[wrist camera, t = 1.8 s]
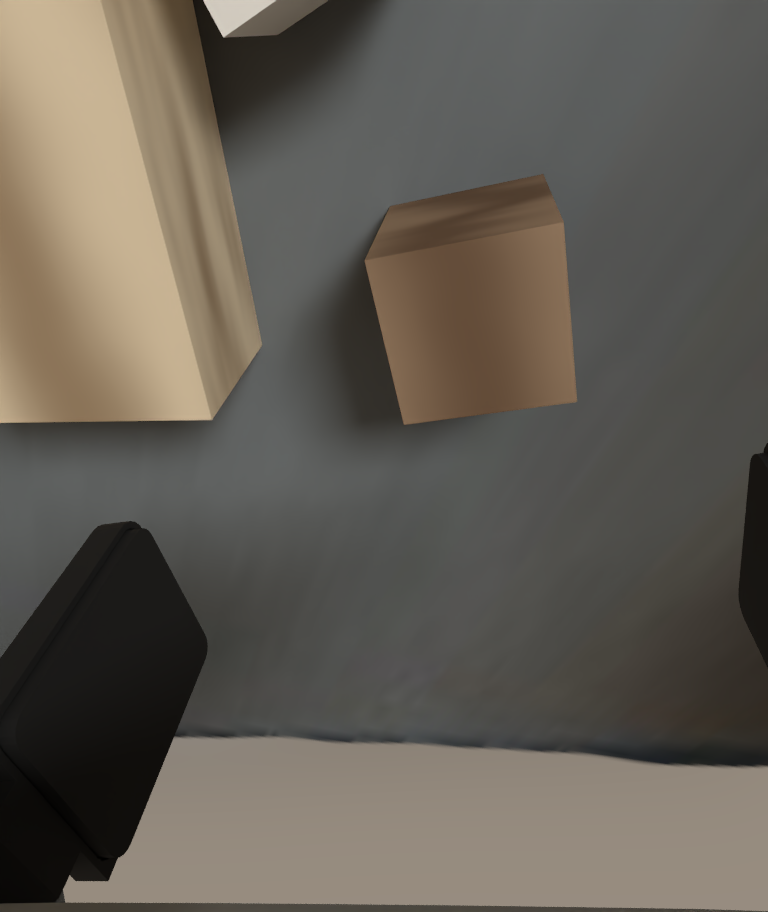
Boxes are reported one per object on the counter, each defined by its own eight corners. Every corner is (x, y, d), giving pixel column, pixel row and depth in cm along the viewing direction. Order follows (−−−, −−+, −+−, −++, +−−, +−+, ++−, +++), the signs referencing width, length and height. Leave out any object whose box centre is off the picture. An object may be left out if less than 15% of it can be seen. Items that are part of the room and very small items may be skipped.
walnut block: (542, 173, 21) (563, 222, 16) (555, 320, 23) (577, 401, 18) (390, 206, 22) (364, 260, 17) (419, 342, 24) (404, 424, 19)
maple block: (168, -135, 18) (48, -196, 13) (264, 342, 25) (211, 420, 20) (-120, -92, 19) (-331, -133, 14) (53, 348, 27) (-44, 423, 22)
